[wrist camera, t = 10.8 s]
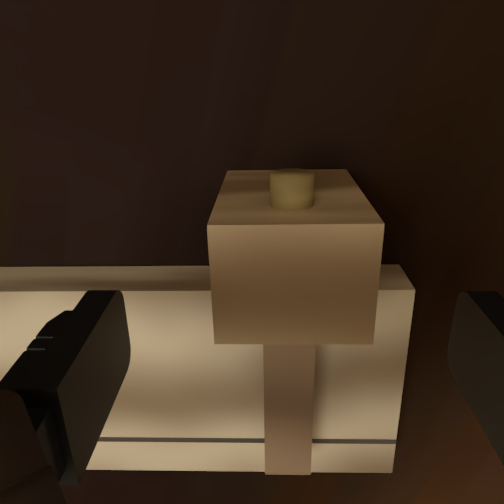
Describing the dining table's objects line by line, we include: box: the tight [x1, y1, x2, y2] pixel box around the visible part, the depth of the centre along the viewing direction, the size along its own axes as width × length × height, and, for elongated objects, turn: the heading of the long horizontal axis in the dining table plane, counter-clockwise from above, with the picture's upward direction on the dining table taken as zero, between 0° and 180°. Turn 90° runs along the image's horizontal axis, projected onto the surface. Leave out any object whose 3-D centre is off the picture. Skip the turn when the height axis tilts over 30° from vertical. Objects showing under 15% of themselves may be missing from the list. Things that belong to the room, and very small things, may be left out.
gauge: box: [207, 169, 385, 475], centre depth 18 cm, size 14×5×7 cm, turn 1°
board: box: [0, 264, 415, 473], centre depth 22 cm, size 10×28×3 cm, turn 91°
